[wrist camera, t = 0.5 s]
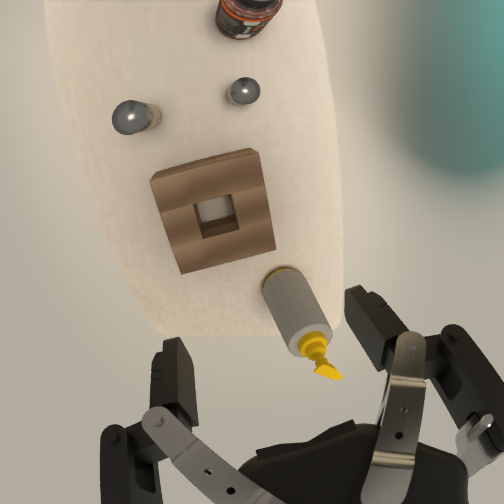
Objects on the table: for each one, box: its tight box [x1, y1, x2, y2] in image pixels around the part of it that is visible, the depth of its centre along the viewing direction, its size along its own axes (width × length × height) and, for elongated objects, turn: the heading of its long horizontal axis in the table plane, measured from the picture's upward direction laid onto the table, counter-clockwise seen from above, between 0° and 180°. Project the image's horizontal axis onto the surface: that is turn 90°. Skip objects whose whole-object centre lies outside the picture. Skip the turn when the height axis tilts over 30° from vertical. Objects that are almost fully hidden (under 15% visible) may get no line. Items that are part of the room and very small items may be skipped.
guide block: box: [150, 148, 276, 275], centre depth 34 cm, size 12×12×5 cm
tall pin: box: [112, 100, 162, 135], centre depth 25 cm, size 3×3×11 cm
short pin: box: [227, 77, 260, 106], centre depth 28 cm, size 3×3×5 cm
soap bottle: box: [263, 268, 343, 380], centre depth 36 cm, size 7×7×18 cm
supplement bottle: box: [216, 0, 283, 39], centre depth 21 cm, size 6×6×11 cm
